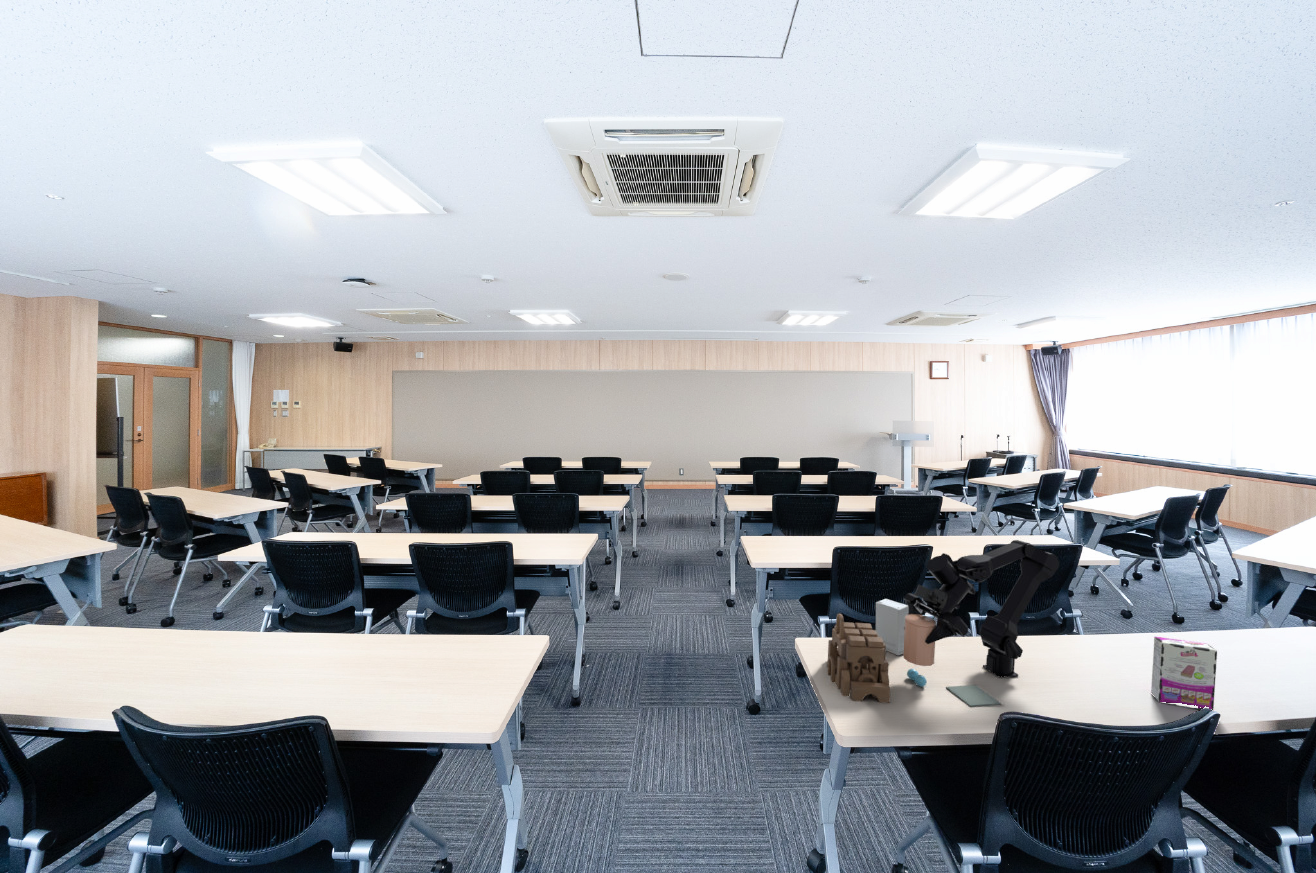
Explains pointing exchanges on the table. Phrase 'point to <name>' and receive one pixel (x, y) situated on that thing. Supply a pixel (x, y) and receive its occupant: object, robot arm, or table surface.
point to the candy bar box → (1184, 672)
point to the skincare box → (891, 624)
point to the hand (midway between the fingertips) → (915, 636)
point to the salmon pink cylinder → (918, 640)
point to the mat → (973, 695)
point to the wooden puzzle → (858, 661)
